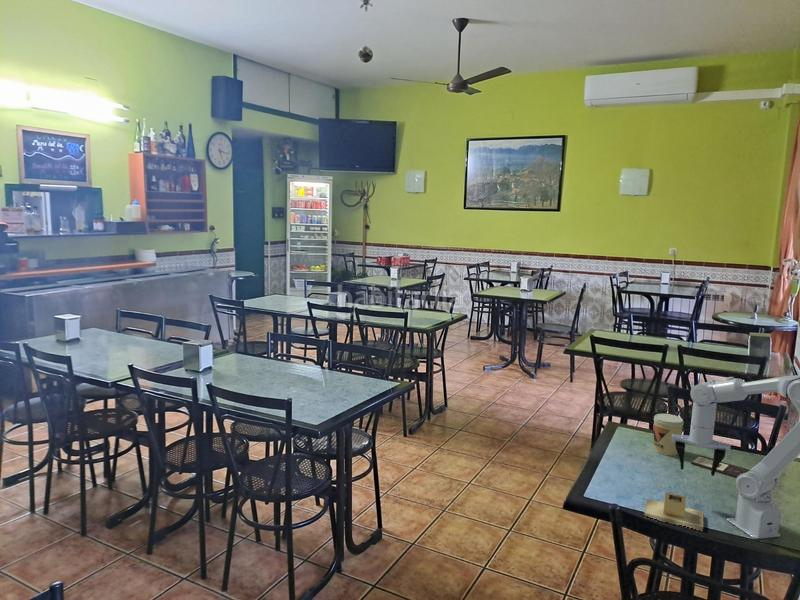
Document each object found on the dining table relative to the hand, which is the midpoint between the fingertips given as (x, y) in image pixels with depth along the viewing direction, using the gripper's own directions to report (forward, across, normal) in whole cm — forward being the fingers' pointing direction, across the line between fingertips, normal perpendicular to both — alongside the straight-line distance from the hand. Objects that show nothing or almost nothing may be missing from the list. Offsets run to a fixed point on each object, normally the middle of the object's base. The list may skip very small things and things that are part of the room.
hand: (697, 471), depth 163 cm
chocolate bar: (+10, -9, -30) cm, 33 cm away
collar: (+8, +5, +12) cm, 15 cm away
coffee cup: (+10, +9, -36) cm, 39 cm away
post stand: (+9, +5, +12) cm, 16 cm away
